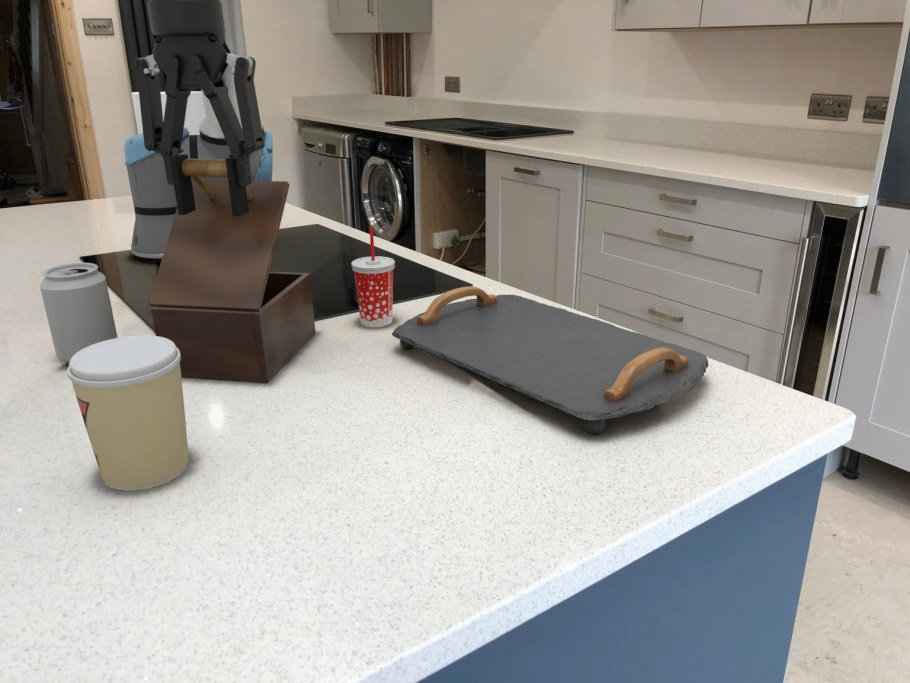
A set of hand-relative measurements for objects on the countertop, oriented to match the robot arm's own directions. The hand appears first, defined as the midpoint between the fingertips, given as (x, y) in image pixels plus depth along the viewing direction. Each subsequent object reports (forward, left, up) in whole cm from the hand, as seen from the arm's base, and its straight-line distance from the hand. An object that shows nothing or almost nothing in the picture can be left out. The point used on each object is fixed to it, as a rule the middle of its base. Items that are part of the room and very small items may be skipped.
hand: (213, 212), depth 86 cm
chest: (-3, 0, -19) cm, 19 cm away
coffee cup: (+25, +3, -19) cm, 32 cm away
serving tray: (-5, +39, -19) cm, 44 cm away
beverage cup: (-17, +14, -19) cm, 29 cm away
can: (+1, -20, -19) cm, 28 cm away
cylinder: (-86, -53, -19) cm, 103 cm away
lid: (-1, 0, -4) cm, 4 cm away
